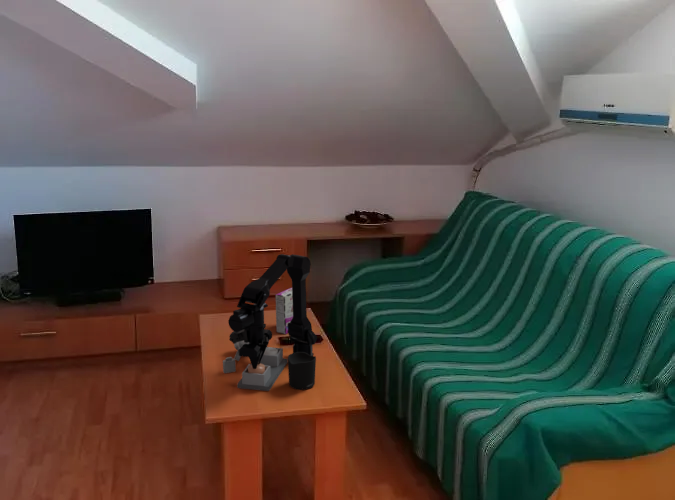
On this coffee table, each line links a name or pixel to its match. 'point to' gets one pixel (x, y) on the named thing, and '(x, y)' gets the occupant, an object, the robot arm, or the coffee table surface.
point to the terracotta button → (257, 369)
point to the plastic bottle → (240, 344)
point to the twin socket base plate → (270, 375)
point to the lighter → (230, 363)
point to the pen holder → (301, 370)
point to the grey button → (271, 351)
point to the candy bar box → (284, 310)
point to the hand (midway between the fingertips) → (256, 366)
